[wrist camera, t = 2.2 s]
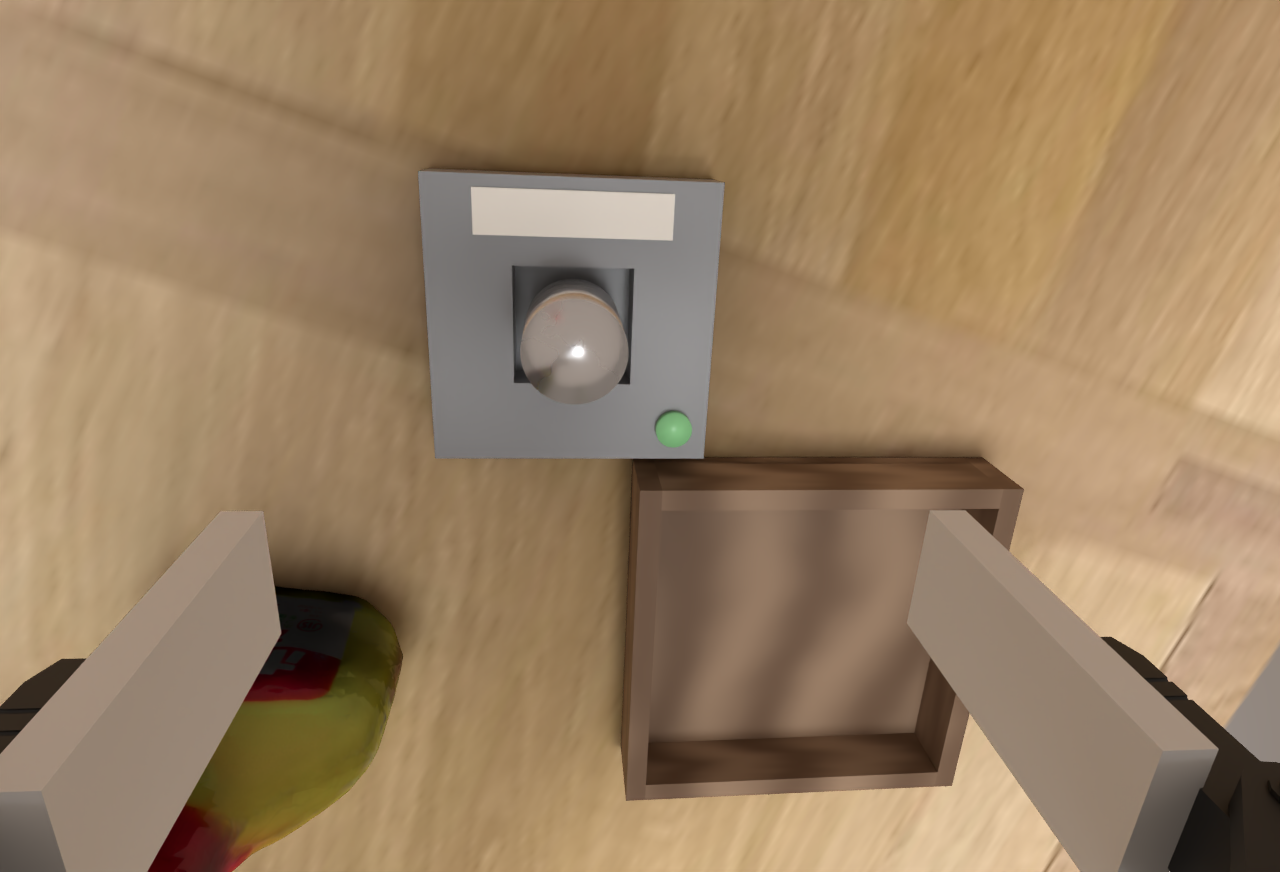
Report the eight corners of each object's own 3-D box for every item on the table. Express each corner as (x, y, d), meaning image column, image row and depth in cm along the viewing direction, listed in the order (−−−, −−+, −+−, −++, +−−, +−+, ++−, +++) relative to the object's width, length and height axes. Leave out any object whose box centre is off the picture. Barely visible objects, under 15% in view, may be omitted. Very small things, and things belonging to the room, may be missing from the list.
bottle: (162, 653, 39) (-199, 1123, 20) (169, 544, 37) (-227, 959, 18) (402, 688, 41) (272, 1142, 23) (421, 587, 39) (296, 996, 20)
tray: (620, 747, 44) (626, 800, 40) (632, 457, 37) (640, 490, 34) (921, 735, 46) (951, 785, 42) (982, 457, 39) (1024, 489, 36)
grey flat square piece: (443, 437, 36) (433, 461, 34) (428, 168, 32) (416, 171, 29) (694, 438, 37) (705, 462, 35) (713, 179, 33) (726, 183, 30)
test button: (526, 371, 33) (521, 404, 29) (524, 277, 32) (519, 298, 28) (618, 372, 33) (626, 404, 29) (621, 279, 32) (630, 300, 28)
